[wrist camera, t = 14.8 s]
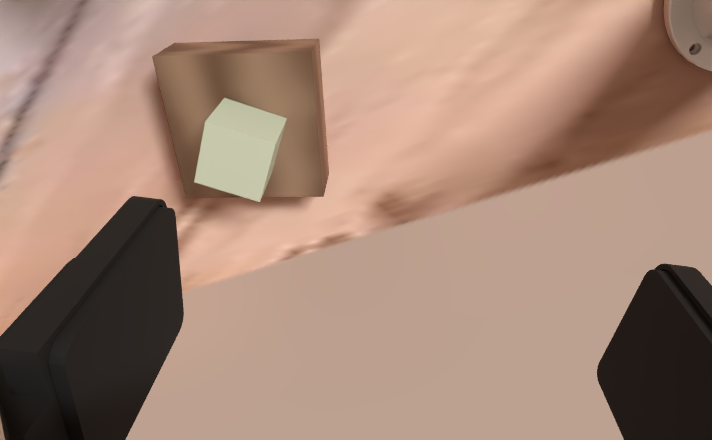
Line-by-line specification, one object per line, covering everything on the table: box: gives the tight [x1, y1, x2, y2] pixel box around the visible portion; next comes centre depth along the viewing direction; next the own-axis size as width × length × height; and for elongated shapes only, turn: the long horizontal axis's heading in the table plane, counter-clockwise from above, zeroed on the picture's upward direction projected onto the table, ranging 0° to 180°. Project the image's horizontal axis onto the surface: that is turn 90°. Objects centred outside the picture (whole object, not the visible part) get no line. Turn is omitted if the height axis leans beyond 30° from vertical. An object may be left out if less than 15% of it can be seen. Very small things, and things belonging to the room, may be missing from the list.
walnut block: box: [152, 39, 329, 198], centre depth 43 cm, size 12×12×5 cm
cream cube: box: [194, 98, 287, 202], centre depth 39 cm, size 5×5×5 cm
